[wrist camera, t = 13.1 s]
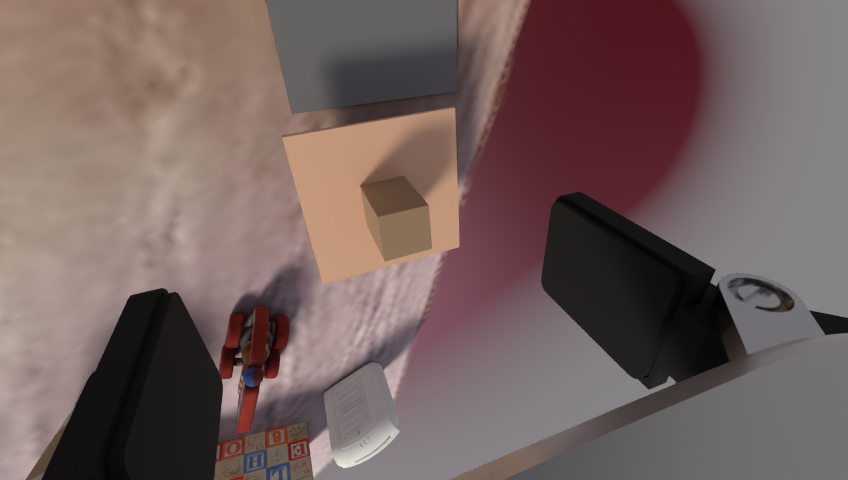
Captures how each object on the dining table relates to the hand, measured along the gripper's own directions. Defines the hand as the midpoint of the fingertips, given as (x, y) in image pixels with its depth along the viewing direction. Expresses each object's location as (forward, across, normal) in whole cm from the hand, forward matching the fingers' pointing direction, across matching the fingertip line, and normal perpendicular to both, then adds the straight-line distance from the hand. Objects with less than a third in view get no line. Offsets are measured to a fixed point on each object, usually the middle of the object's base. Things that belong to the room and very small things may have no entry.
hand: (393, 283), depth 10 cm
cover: (+28, -6, +11) cm, 30 cm away
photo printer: (+34, +1, +45) cm, 56 cm away
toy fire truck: (+35, +12, +30) cm, 47 cm away
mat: (+34, -8, -6) cm, 36 cm away
